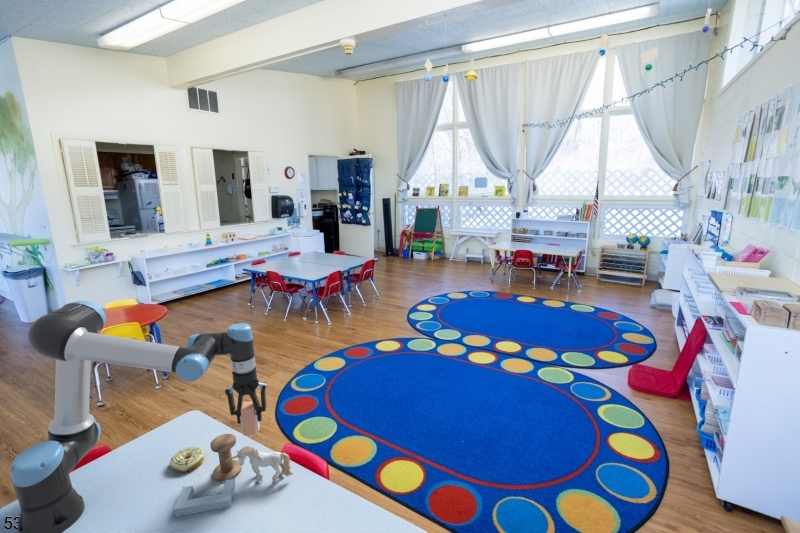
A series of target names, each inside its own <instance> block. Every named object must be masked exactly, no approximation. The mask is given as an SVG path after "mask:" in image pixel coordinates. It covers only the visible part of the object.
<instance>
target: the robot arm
mask: <svg viewBox="0 0 800 533" xmlns="http://www.w3.org/2000/svg"><path fill="white" fill-rule="evenodd" d="M106 321H107V317H106V313H105V311H104V310H103V309H102V308H101V307H100V306H99V305H98V304H96V303H94V302H92V301H88V300H75V301H73V302H68V303H66V304H64V305H63V306H61V307H60V308H57V309H56V310H53V311H51V312H49V313H46V314H45V315H42V316H41V317H39V318H37V319H36V320H35V321H34V322H33V323H32V324H31V325H30V327H29V329H28V333H27V342H28V344H29V346H30V347H31V348H32V349H33V351H34V352H36V353H37V354H39V355H41V356H43V357H46V358H48V359H53V360H54V361H55V379H54V380H55V384H54V387H55V389H54V418H53V420H52V421H50V422H49V423H48V426H47V439H46V441H41V442H38V443H36V444H34V445H32V446H31V447H30V448H26V449H24V450H23V451H21V453H19V454H18V455H17V456H16V457H15V459H14V460H13V461H12V463H11V465H10V469H9V470H10V480H11V483H12V484H13V489H14V491H15V495H16V498H17V502H18V504H19V508H20V513H19V520H18V525H17V532H18V533H62V532H64V531H65V530H67V529H68V528H70V527H71V526H72V525H74V523H75V522H76V521H78V519H79V518H80V517H81V516H82V515H83V513H84V511H85V508H86V507H85V501H84V498H83V496H81V495H80V494H79V493H78V492H77V491H76V489H75V488H74V487H73V485H72V480H71V477H70V473H71V472H72V471H73V470H74V468H75V467H76V466H77V465H78V464H79V463H80V462H81V460H82V459H84V457H85V456H86V455H88V454H89V452H90V451H91V450H92V449H93V448H94V447H95V445H96V443H97V442H98V441H99V439H100V437H101V431H102V430H101V426H100V423H99V422H97V421H96V420H97V419H95V417H94V415H93V414H91V413H90V396H91V393H90V392H91V373H92V372H91V370H92V362H99V363H104V364H112V365H118V366H123V367H124V366H127V367H132V368H139V369H140V368H141V369H145V370H147V369H148V370H154V371H161V372H167V373H175V374H176V376H177V377H178V378H179V379H181V380H182V381H184V382H189V383H192V382H196V381H197V380H199V379H200V378H201V377H203V375H204V374H205V373H206V372H207V371H208V369H209V368H210V365H211V364H212V363H213V361H214V360H215V358H216V357H219V356H227V355H229V357H230V364H231V371H232V372H231V373H232V374H231V375H232V382H233V383H232V384H231V385H230V386H229V385H228V386H226V388H225V390H224V393H225V394H226V396H227V402H228V407H229V413H230V416H236V419H237V421H236V422H237V424H239V425H240V426H241V428H240V429H241V434H243V425H242V417H241V407H242V405H243V402H244V401H243V399H244V396H246V395H247V396H249V397H250V399H251V401H252V402H253V405H254V407H255V410H256V412H255V423H256V431H257V432H259V431H260V427H261V426H260V422H261V421H262V418H263V417H262V412H263V413H264V412H266V408H267V397H266V395H267V393H266V388H267V385H268V383H267V382H266V381H264V382H260V381H259V379H258V375H257V368H256V366H257V364H256V355H255V348H254V335H253V332H252V330H253V329H252V327H251V325H250V324H249V323H246V322H245V323H243V322H241V323H234V324H231V325H229V326H227V328H226V331H222V332H220V331H219V332H201V333H196V334H192V335H190V336H189V338H188V341H187V344H186V346H177V345H172V344H171V345H170V344H165V343H158V342H152V341H145V340H142V339H141V340H140V339H133V338H127V337H120V336H116V335H109V334H104V333H99V331H101V330H102V329H103V328H104V326H105V324H106ZM257 388H259V390H260V401H261V402H260V401H259V399H258V396H257V392H256V390H257ZM234 391H235V392H236V393H237V394H238V396H237V406H236V404H235V397H234ZM260 403H261V404H260Z"/></svg>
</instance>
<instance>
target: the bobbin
mask: <svg viewBox="0 0 800 533" xmlns="http://www.w3.org/2000/svg"><path fill="white" fill-rule="evenodd" d="M236 444H237V437H236V436H235V434H233V433H223V434H220V435H218V436H216V437H215V438H214V439H212V441H211V442H210V445H209V446H210V450H211V451H212V452H213V453H218V460H219V464H218V465H217V466H215V468H214V469H213V472H212V476H213V479H214V481H216V482H220V483H225V480H230V479H236V477H237V476H239V474H240V473H241V472H242V465H239V460H236V459H230V460H227V459H229V458H232V457H233V455H232V448H233V447H234V446H235V445H236Z"/></svg>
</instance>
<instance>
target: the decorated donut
mask: <svg viewBox="0 0 800 533" xmlns="http://www.w3.org/2000/svg"><path fill="white" fill-rule="evenodd" d="M204 459H205V453H204V450H203V449H202V448H200V447H198V446H190V447H185V448H183V449H181V450H179V451H177V453H175V454H174V455H172V457H171V459H170V463H169V464H170V467H171V469H173V470H174V471H176V472H181V473H183V472H190V471H193V470H194V469H196V468H198V467H200V466H201V464H202V463H203V461H204Z"/></svg>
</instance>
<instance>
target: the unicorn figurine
mask: <svg viewBox="0 0 800 533" xmlns="http://www.w3.org/2000/svg"><path fill="white" fill-rule="evenodd" d="M236 453H237V454H236V455H235V456H232V458H229V459H227V460H230V459H232V460H235V459H237V458H238V461H239V465H241V466H243V465H244V464H245V459H247V457H248V458H249V464H250V465H251V468H252V470H253V472H254V473H255V474H256V476H257V478H256V480H255V482H254V483H255V484H259V483H260V481H261V482H263V475H262V474H261V473H260V472H261V471H260V469H259V468H268V467H269V466H270V467H271V468H273V470H274V471H275V474H273V476H271V481H272V484H275V483H276V482H277V480H278V477H279V478H282V477H283V476H284V475H285V476H286V477H289V476H292V475H294V472H293V471H292V470H291V469H292V467H291V458H290V456H289V454H287V453H285V452H281V451H273V452H272V451H271V452H261V451H260V450H258V448H255V446H248V445H247V446H244V447H242V448H241V449H239V450H236ZM279 467H280V468H281V470H280V468H279Z"/></svg>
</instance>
